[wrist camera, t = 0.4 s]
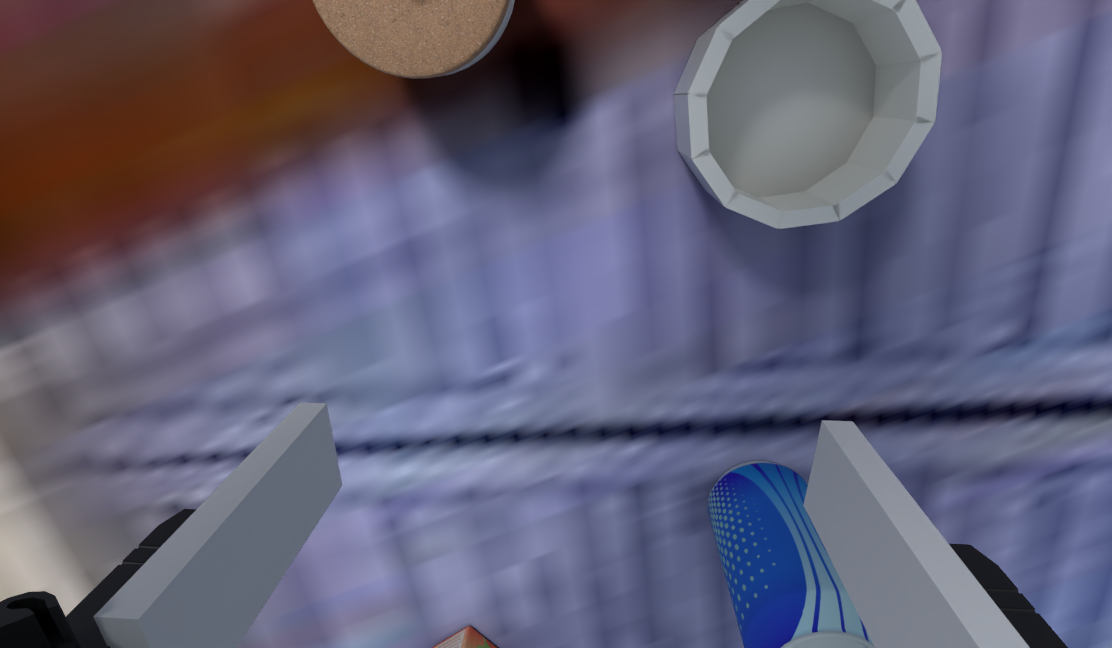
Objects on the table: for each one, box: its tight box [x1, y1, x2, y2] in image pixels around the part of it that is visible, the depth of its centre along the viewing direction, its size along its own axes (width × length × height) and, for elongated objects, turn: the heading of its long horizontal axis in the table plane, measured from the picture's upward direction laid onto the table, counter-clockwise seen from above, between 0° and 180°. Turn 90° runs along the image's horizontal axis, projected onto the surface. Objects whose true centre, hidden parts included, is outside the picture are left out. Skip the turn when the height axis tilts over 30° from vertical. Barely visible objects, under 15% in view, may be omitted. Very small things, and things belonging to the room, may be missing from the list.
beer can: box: [708, 461, 875, 648], centre depth 40 cm, size 8×8×16 cm
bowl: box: [674, 0, 942, 229], centre depth 32 cm, size 13×13×6 cm
